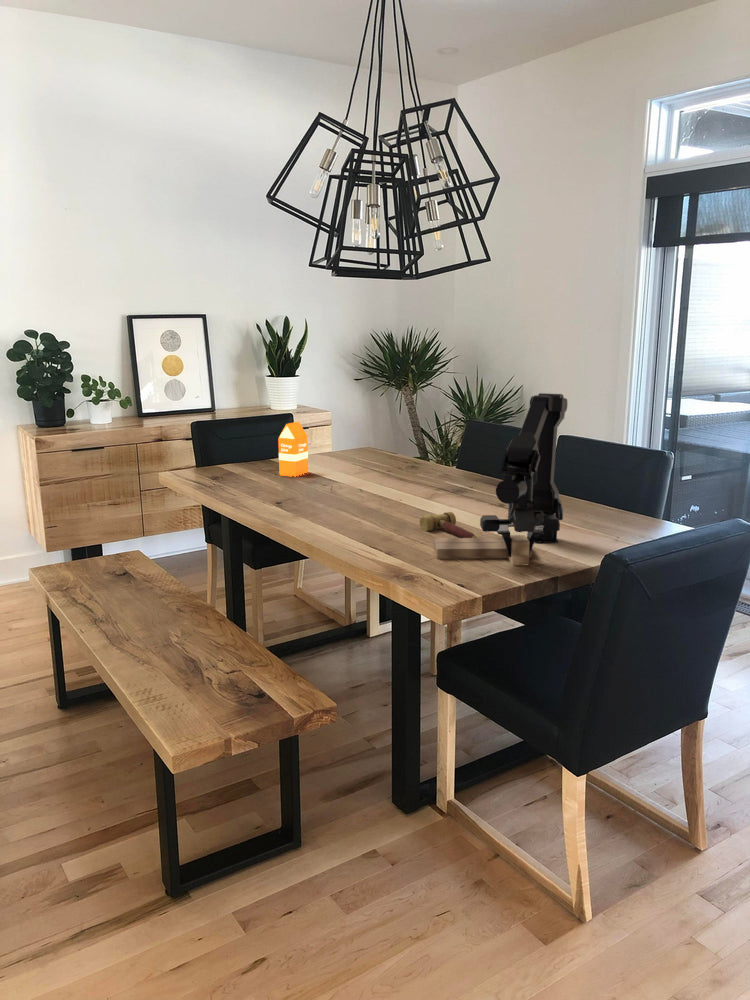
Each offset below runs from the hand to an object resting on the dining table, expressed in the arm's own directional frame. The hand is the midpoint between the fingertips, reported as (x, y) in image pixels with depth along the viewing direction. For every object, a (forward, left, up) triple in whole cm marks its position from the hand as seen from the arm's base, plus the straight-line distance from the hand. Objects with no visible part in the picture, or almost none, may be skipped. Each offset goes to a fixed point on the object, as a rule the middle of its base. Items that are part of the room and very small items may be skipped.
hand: (518, 556), depth 201 cm
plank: (+8, -8, -1) cm, 12 cm away
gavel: (+13, -26, -2) cm, 29 cm away
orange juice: (+67, -116, -2) cm, 133 cm away
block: (0, -3, -1) cm, 3 cm away
